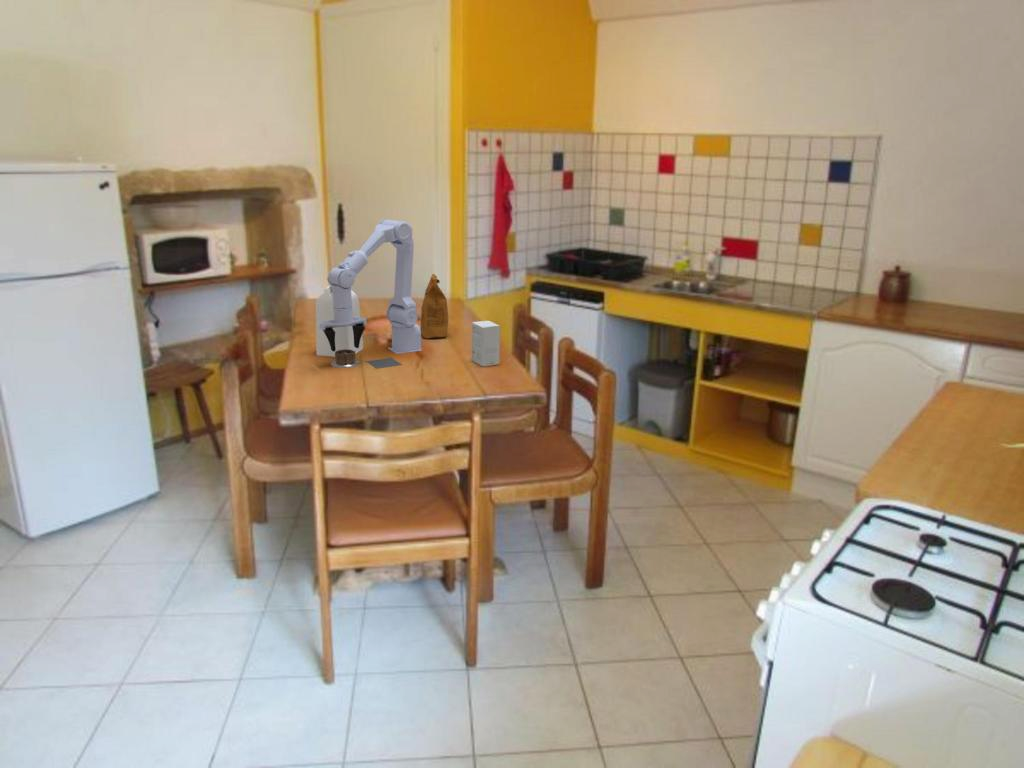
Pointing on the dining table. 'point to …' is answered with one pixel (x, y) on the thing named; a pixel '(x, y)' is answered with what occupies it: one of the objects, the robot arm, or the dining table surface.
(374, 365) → the mat
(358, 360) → the hub
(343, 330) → the milk
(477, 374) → the dining table surface
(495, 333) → the small box
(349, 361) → the ring
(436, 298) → the coffee package
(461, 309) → the dining table surface
